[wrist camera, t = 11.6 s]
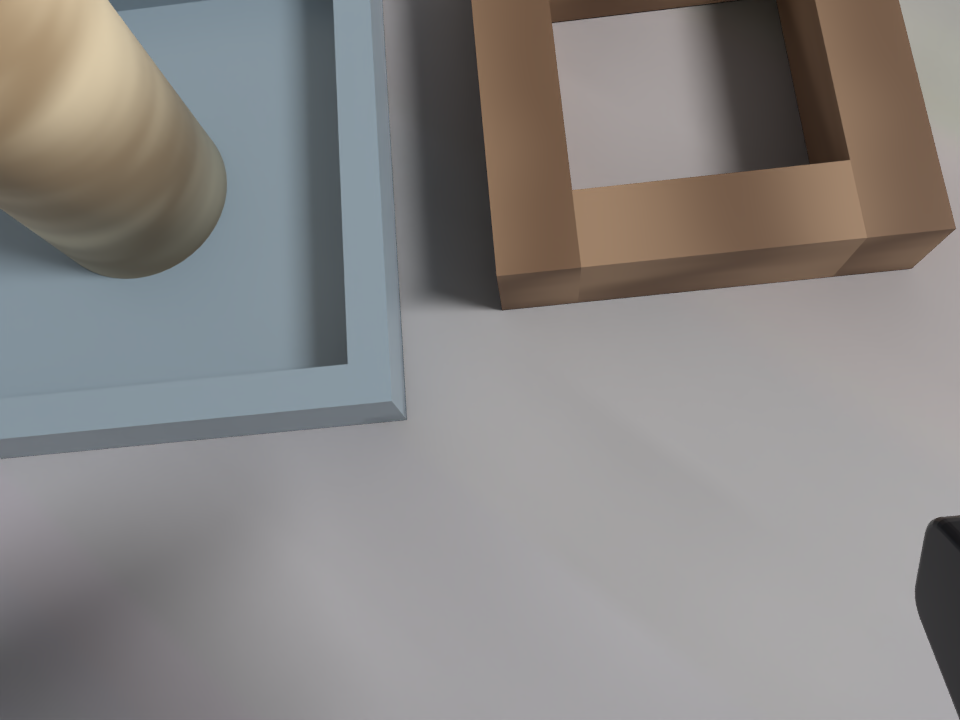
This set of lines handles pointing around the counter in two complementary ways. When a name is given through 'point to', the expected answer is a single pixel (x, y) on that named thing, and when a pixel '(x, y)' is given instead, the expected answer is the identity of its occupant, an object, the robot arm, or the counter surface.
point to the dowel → (100, 142)
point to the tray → (230, 252)
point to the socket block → (714, 198)
